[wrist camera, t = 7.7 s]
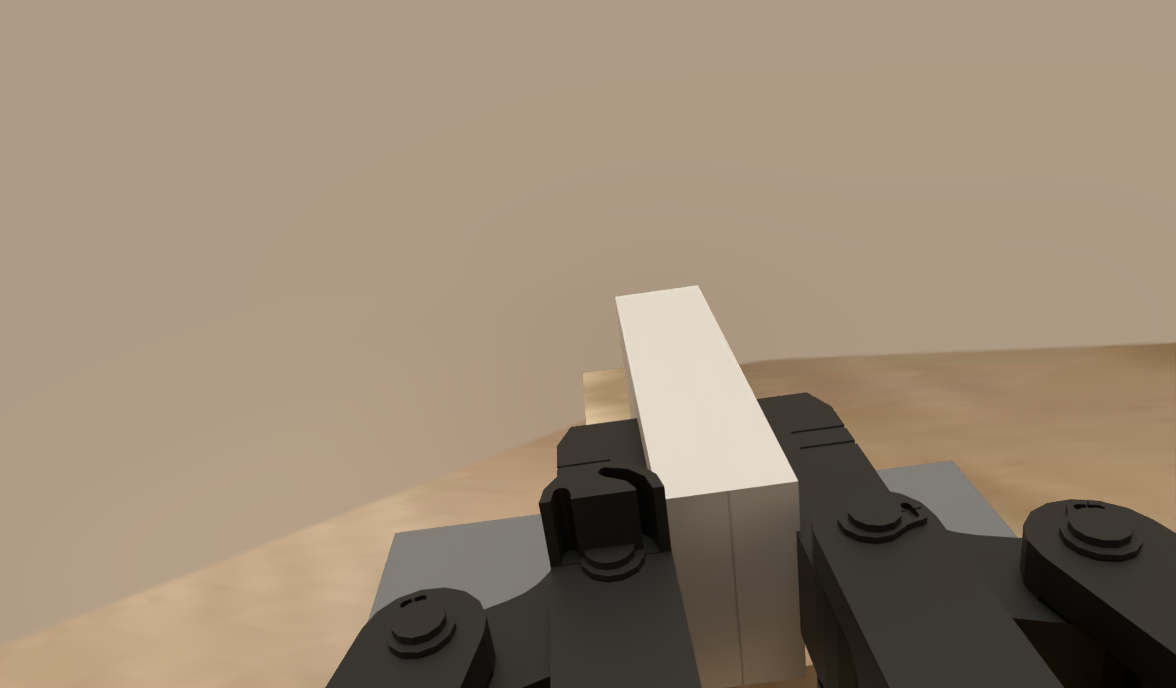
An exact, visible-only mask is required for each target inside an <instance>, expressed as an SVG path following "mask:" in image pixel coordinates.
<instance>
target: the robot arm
mask: <svg viewBox="0 0 1176 688" xmlns="http://www.w3.org/2000/svg"><path fill="white" fill-rule="evenodd" d="M615 300H616V308H617V315H618V323H619V331H620V339H621V347H622V354H623V361H624V370H625V378H626V386H627V394H628V401H629V409H630V417H631V419H627V420H619V421H612V422H605V423H597V424H590V425H583V426H576V427H571V428H570V429H569V430H568V432H567V433H566V435H565V436H564V437H563V439H562V440H561V442H560V443H559V444H558V446H557V468H558V470H557V477H556V478H555V479H554V480H553V481H552V482H551V483H550V484H549V485H548V486H547V487H546V488H545V489H544V490H543V493H542V496H541V499H540V501H539V507H540V513H541V518H542V523H543V529H544V534H545V540H546V545H547V551H548V556H549V561H550V567H551V570H550V572H549V573H548V574H547V575H546V576H545V577H544V578H543V579H542V580H541V581H540V582H539V583H538V584H536V585H535V586H534V587H532V588H531V589H529V590H528V591H526V592H525V593H523V594H521V595H519V596H516V597H514V598H512V599H510V600H508V601H505V602H503V603H500V604H497V605H494V606H492V607H489V608H486V609H483V607H482V604H481V602H480V601H479V600H478V599H476V598H475V597H473V596H472V595H470V594H469V593H467V592H466V591H462V590H457V589H451V588H446V587H443V588H433V589H424V590H419V591H416V592H414V593H411V594H408V595H405V596H402V597H400V598H397V599H396V600H394V601H393V602H391V603H390V604H388V605H386V606H385V607H383V608H382V609H380V610H379V611H377V612H376V613H375V614H374V616H373V617H372V618H371V619H370V620H369V621H368V622H367V623H366V625H365V626H364V627H363V628H362V629H361V631H360V633H359V634H358V636H357V637H356V639H355V641H354V642H353V644H352V645H351V647H350V649H349V650H348V652H347V654H346V655H345V657H344V658H343V660H342V662H341V663H340V665H339V666H338V668H337V670H336V671H335V673H334V674H333V676H332V678H331V679H330V681H329V683H328V684H327V686H326V687H325V688H728V687H735V686H743V685H751V684H758V683H766V682H773V681H781V680H789V679H796V678H804V677H806V659H805V645H806V648H807V650H808V653H809V656H810V658H811V661H812V663H813V666H814V668H815V671H816V673H817V688H1176V533H1175V532H1173V531H1171V530H1170V529H1168V528H1166V527H1165V526H1163V525H1161V524H1160V523H1158V522H1156V521H1155V520H1153V519H1151V518H1148V517H1146V516H1144V515H1142V514H1140V513H1137V512H1135V511H1133V510H1131V509H1129V508H1126V507H1122V506H1117V505H1113V504H1109V503H1105V502H1102V501H1094V500H1074V499H1070V500H1064V501H1057V502H1051V503H1046V504H1045V505H1043V506H1041V507H1039V508H1037V509H1035V510H1033V511H1031V512H1030V514H1029V516H1028V517H1027V519H1026V521H1025V523H1024V525H1023V537H1022V538H1014V537H1000V536H986V535H974V534H966V533H959V532H954V531H950V530H947V529H946V528H945V527H944V525H943V524H942V523H941V521H940V520H939V519H938V517H937V516H936V515H935V514H934V513H933V512H932V511H931V510H929V509H928V508H927V507H926V506H925V505H924V504H923V503H921V502H919V501H917V500H915V499H912V498H910V497H908V496H906V495H903V494H901V493H896V492H890V491H889V489H888V488H887V486H886V485H885V483H884V482H883V481H882V479H881V478H880V476H879V475H878V473H877V472H876V470H875V469H874V467H873V466H872V465H871V463H870V462H869V460H868V459H867V457H866V456H865V454H864V453H863V452H862V450H861V449H860V447H859V446H858V444H855V441H854V439H853V437H852V436H851V434H850V433H849V431H848V430H847V428H844V424H843V423H842V421H841V420H840V418H839V417H838V415H837V414H836V412H835V411H834V410H833V408H832V407H831V406H830V405H828V404H826V403H824V402H823V401H821V400H819V399H817V398H815V397H814V396H812V395H810V394H808V393H799V394H791V395H784V396H777V397H769V398H762V399H756V398H755V396H754V394H753V392H752V390H751V388H750V386H749V384H748V382H747V380H746V378H745V376H744V374H743V372H742V371H741V369H740V367H739V365H738V363H737V361H736V359H735V357H734V355H733V353H732V351H731V349H730V347H729V345H728V343H727V341H726V339H725V337H724V336H723V334H722V332H721V330H720V328H719V326H718V324H717V322H716V320H715V318H714V316H713V314H712V312H711V310H710V308H709V306H708V304H707V302H706V300H705V299H704V296H703V295H702V293H701V291H700V289H699V287H698V286H691V287H683V288H677V289H668V290H661V291H654V292H648V293H640V294H633V295H625V296H618V297H615Z"/></svg>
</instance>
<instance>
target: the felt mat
mask: <svg viewBox="0 0 1176 688" xmlns="http://www.w3.org/2000/svg"><path fill="white" fill-rule="evenodd" d="M876 472H877V473H878V475H879V476H880V478H881V479H882V481H883V482H884V483H885V485H886V486H887V488H888V489H889V491H890V492H896V493H901V494H903V495H906V496H908V497H910V498H912V499H915V500H917V501H919V502H921V503H923V504H924V505H925V506H926V507H927V508H928V509H929V510H931V511H932V512H933V513H934V514H935V515H936V516H937V517H938V519H939V520H940V521H941V523H942V524H943V525H944V527H945V528H946V529H947V530H950V531H954V532H959V533H966V534H974V535H986V536H1000V537H1014V538H1018V537H1017V536H1016V535H1015V533H1014V532H1013V531H1012V530H1011V529H1010V528H1009V526H1008V525H1007V524H1006V523H1005V522H1004V521H1003V519H1002V518H1001V517H1000V516H999V515H998V514H997V512H996V511H995V510H994V509H993V508H992V507H991V505H990V504H989V503H988V502H987V501H986V500H985V498H984V497H983V496H982V495H981V494H980V493H979V491H978V490H977V489H976V488H975V487H974V486H973V484H972V483H971V482H970V481H969V480H968V479H967V477H966V476H965V475H964V474H963V473H962V472H961V470H960V469H959V468H958V467H957V466H956V464H955V463H954V462H953V461H944V462H936V463H929V464H921V465H913V466H906V467H898V468H890V469H883V470H876ZM550 570H551V567H550V561H549V556H548V551H547V545H546V540H545V534H544V529H543V523H542V518H541V514H538V515H530V516H523V517H515V518H507V519H500V520H492V521H484V522H477V523H469V524H461V525H454V526H446V527H438V528H431V529H423V530H415V531H408V532H400V533H395V536H394V539H393V542H392V545H391V549H390V552H389V555H388V558H387V561H386V565H385V568H384V571H383V574H382V578H381V581H380V584H379V587H378V591H377V594H376V597H375V600H374V604H373V607H372V610H371V613H370V617H369V620H370V619H371V618H372V617H373V616H374V614H375V613H376V612H377V611H379V610H380V609H382V608H383V607H385V606H386V605H388V604H390V603H391V602H393V601H394V600H396V599H397V598H400V597H402V596H405V595H408V594H411V593H414V592H416V591H419V590H424V589H433V588H443V587H446V588H451V589H457V590H462V591H466V592H467V593H469V594H470V595H472V596H473V597H475V598H476V599H478V600H479V601H480V602H481V604H482V607H483V609H486V608H489V607H492V606H494V605H497V604H500V603H503V602H505V601H508V600H510V599H512V598H514V597H516V596H519V595H521V594H523V593H525V592H526V591H528V590H529V589H531V588H532V587H534V586H535V585H536V584H538V583H539V582H540V581H541V580H542V579H543V578H544V577H545V576H546V575H547V574H548V573H549V572H550ZM369 620H368V621H369Z"/></svg>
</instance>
